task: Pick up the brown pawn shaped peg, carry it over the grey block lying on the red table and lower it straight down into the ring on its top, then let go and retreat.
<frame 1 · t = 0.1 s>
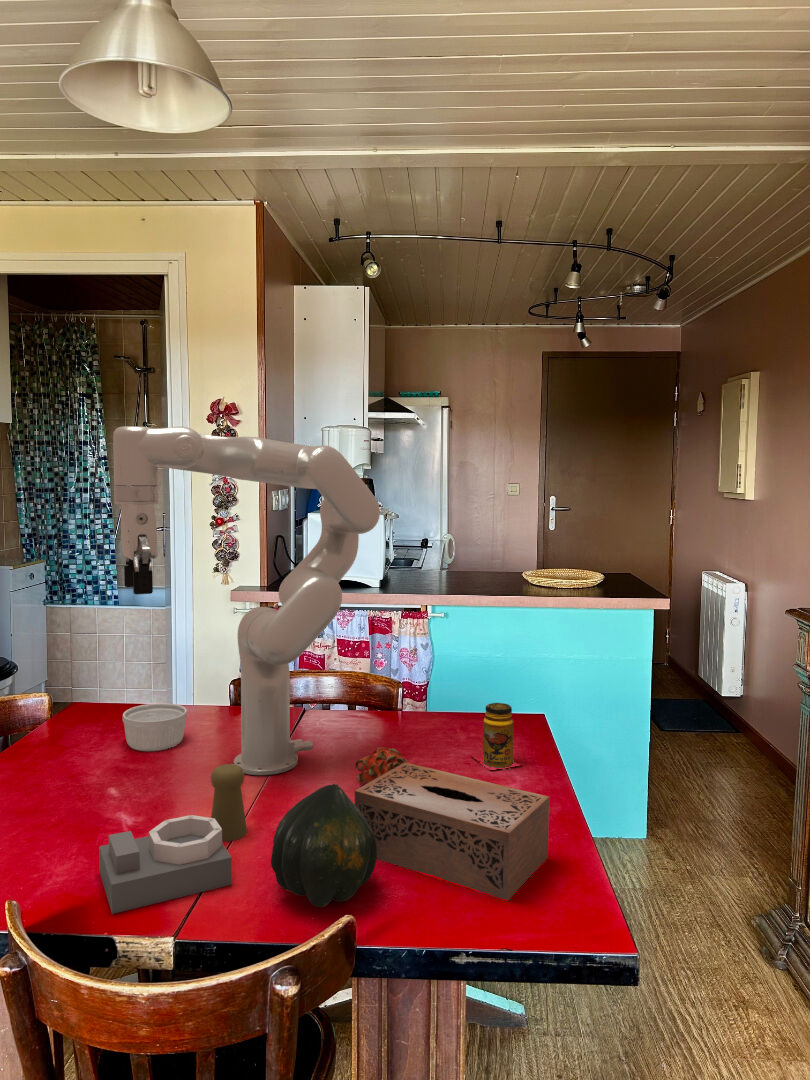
hand: (138, 590, 141), 37 cm above the table, tool pointing down, fingers open, 9 cm apart
brown pawn shaped peg: (228, 834, 126), on the table
dragon fruit: (382, 791, 144), on the table
ramekin: (155, 744, 168), on the table
tissue box cover: (450, 858, 119), on the table
mount: (165, 878, 111), on the table
condiment: (496, 763, 158), on the table
squash: (323, 890, 109), on the table
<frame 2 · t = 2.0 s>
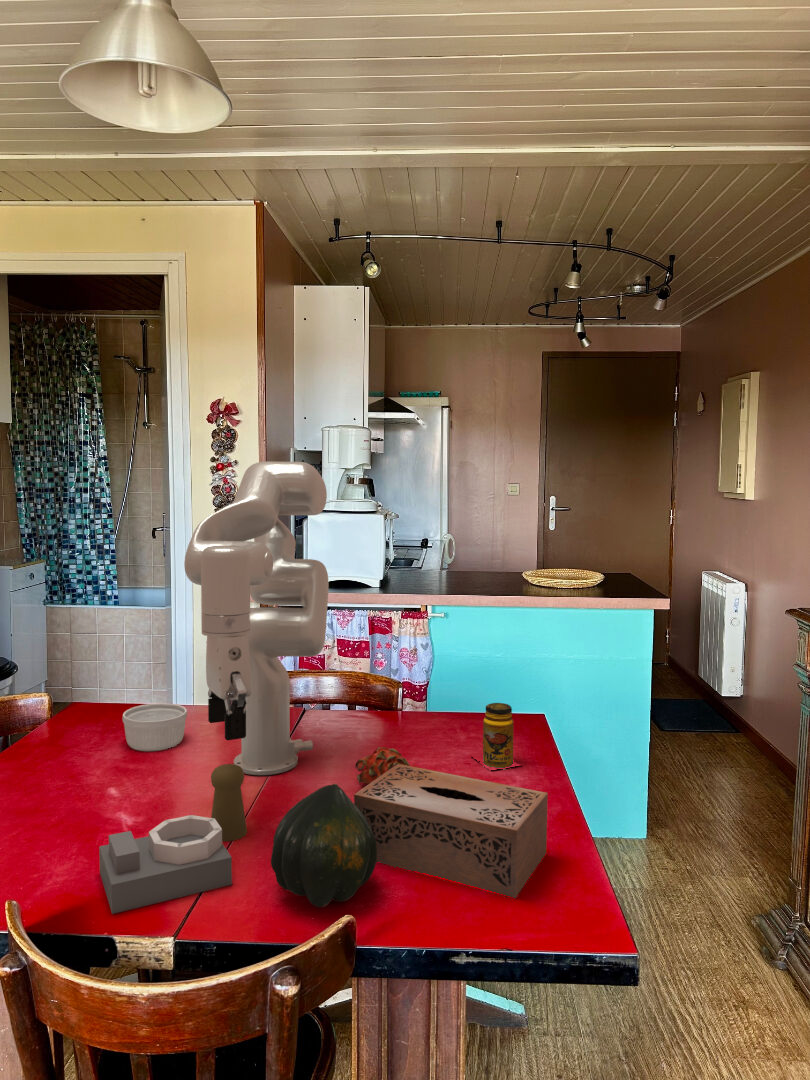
hand: (226, 729, 124), 17 cm above the table, tool pointing down, fingers open, 9 cm apart
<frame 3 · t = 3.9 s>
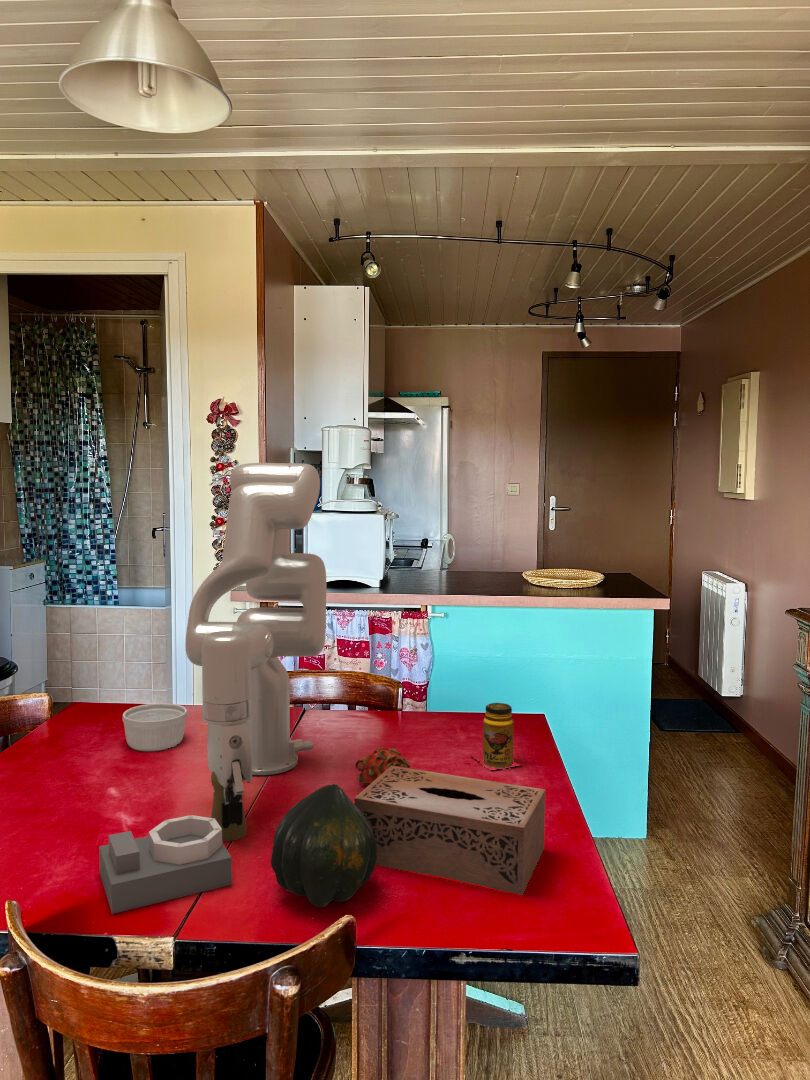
hand: (227, 818, 126), 2 cm above the table, tool pointing down, fingers closed on brown pawn shaped peg, 4 cm apart
brown pawn shaped peg: (228, 834, 126), on the table, touching gripper
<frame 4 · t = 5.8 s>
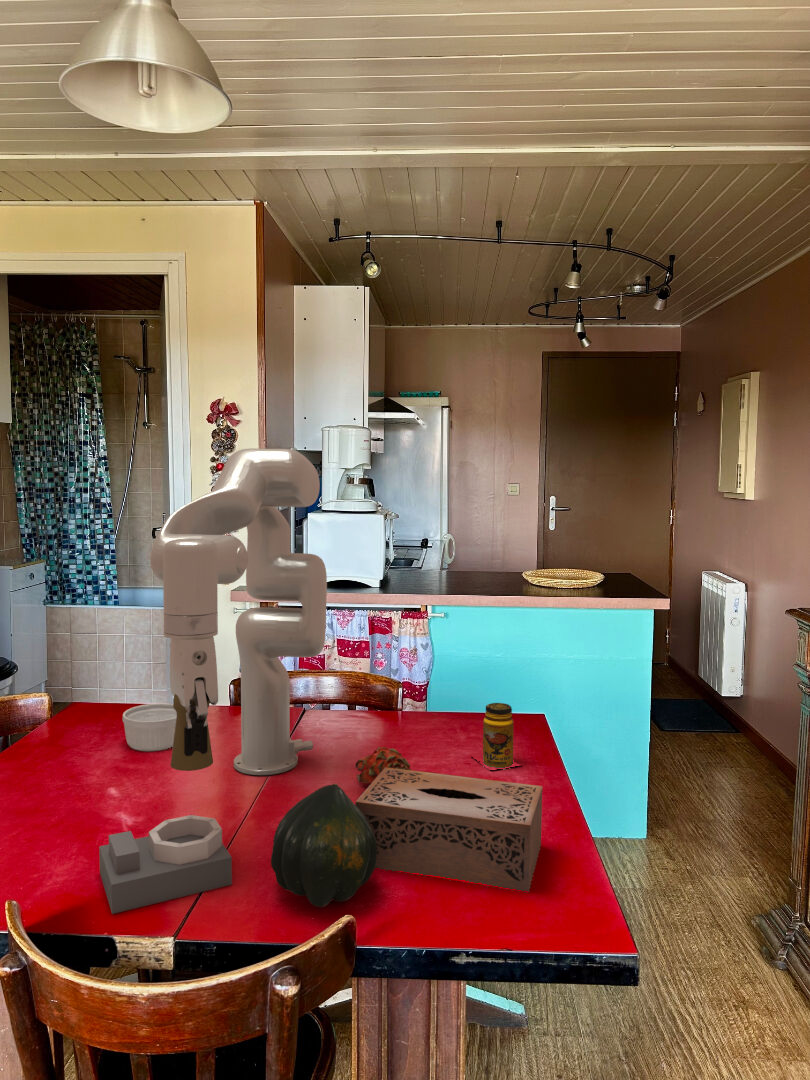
hand: (191, 747, 113), 18 cm above the table, tool pointing down, fingers closed on brown pawn shaped peg, 4 cm apart
brown pawn shaped peg: (192, 764, 113), point 16 cm above the table, touching gripper
when the fingers open (8 cm above the table, at t = 7.5 s): brown pawn shaped peg drops 1 cm, resting on mount.
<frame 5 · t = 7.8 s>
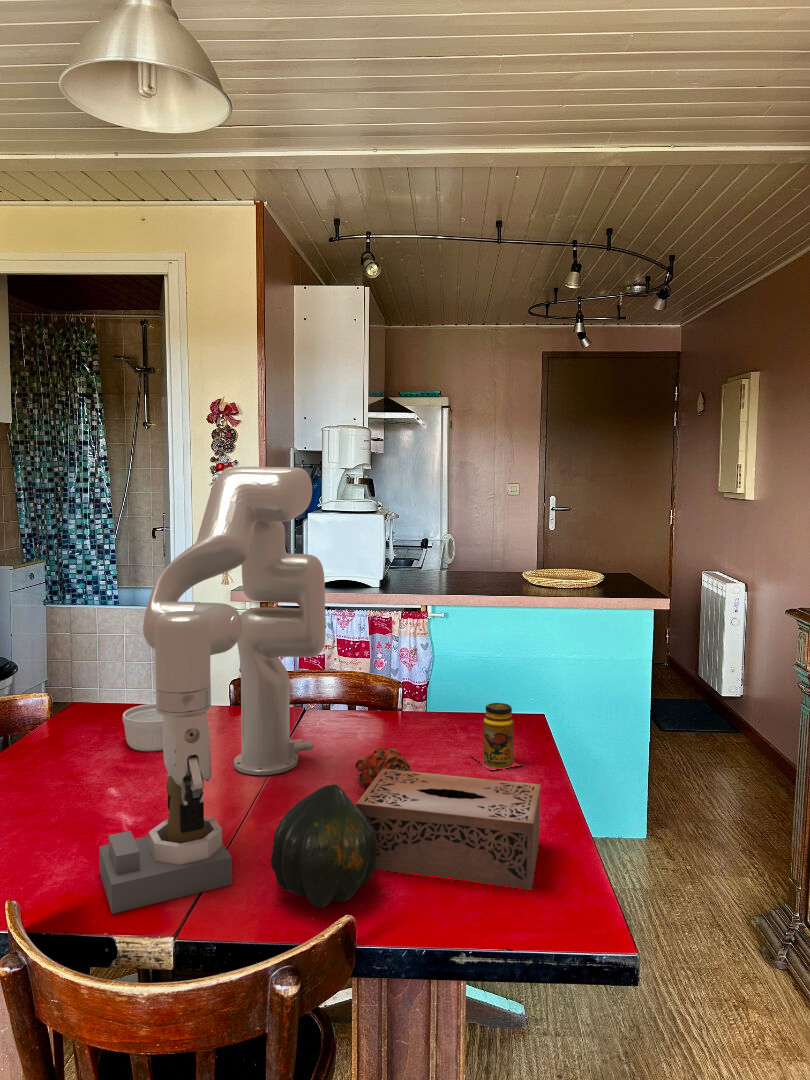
hand: (185, 818, 112), 8 cm above the table, tool pointing down, fingers open, 7 cm apart
brown pawn shaped peg: (186, 847, 113), point 4 cm above the table, touching mount
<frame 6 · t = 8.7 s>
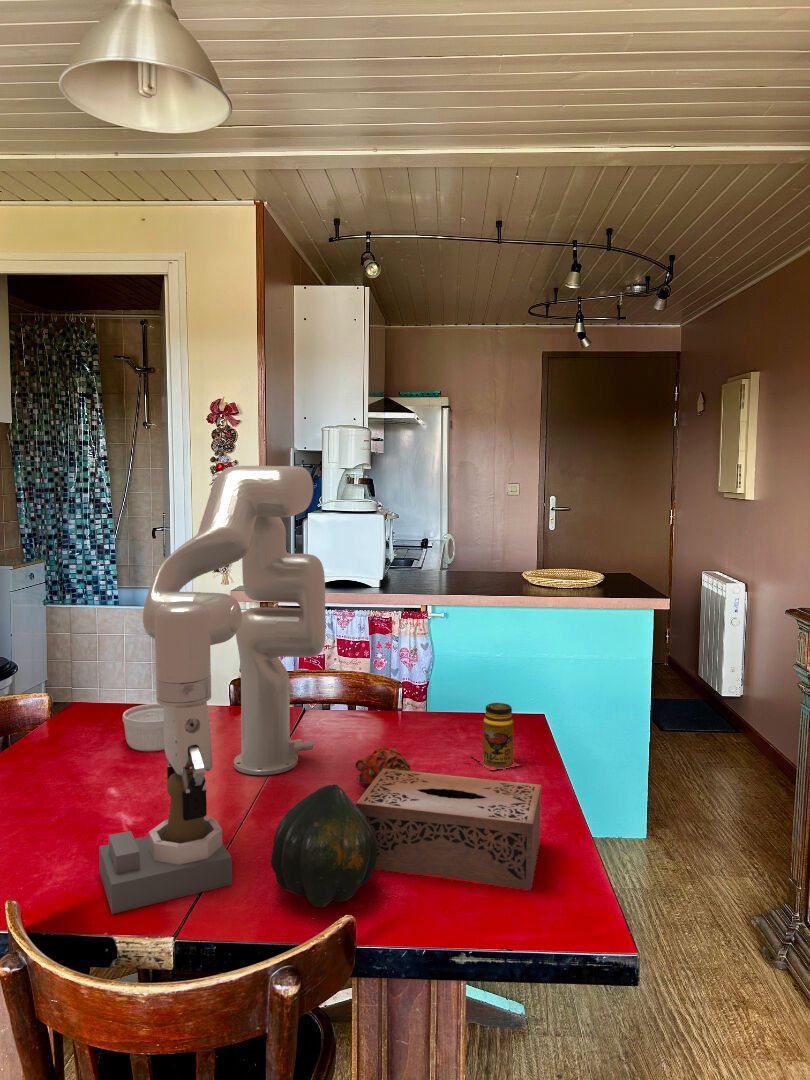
hand: (186, 804, 112), 10 cm above the table, tool pointing down, fingers open, 9 cm apart
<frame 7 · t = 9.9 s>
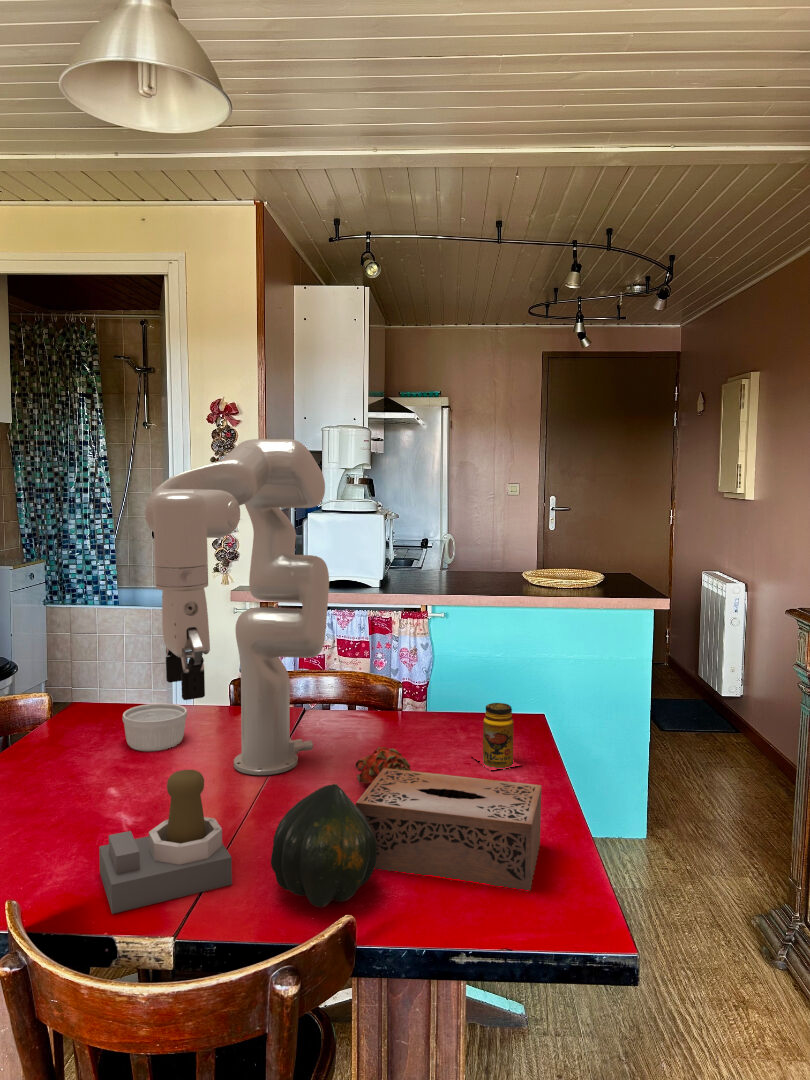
hand: (185, 689, 117), 26 cm above the table, tool pointing down, fingers open, 9 cm apart
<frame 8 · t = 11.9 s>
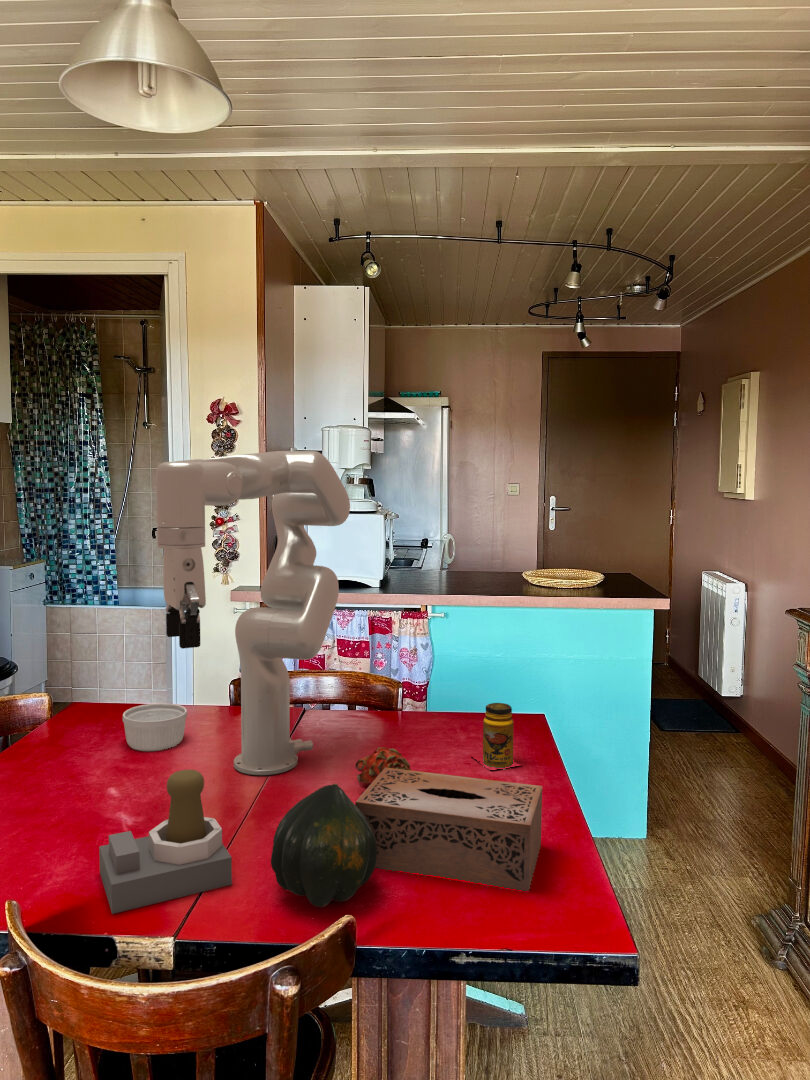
hand: (182, 641, 128), 30 cm above the table, tool pointing down, fingers open, 9 cm apart
at the end: brown pawn shaped peg 0.1 cm from the target spot on the mount, point 3.8 cm above the mount's base; brown pawn shaped peg tilted 0°; the gripper is holding nothing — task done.
